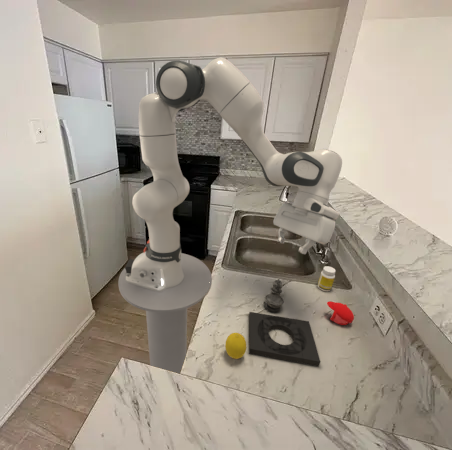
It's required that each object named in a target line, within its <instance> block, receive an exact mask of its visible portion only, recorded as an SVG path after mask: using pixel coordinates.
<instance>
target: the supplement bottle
mask: <svg viewBox="0 0 452 450" xmlns="http://www.w3.org/2000/svg"><path fill="white" fill-rule="evenodd" d="M336 272H337V271H336V269H335V267H332V266H327V265H326V266H325V265H324V266H323V269H322V270H321V272H320V275H319V278H318V281H317V283H316V285H317V288H318V289H319V290H321V291H323V292H330V291H332V287H333V285H334V282H335V278H336V275H335V274H336Z"/></svg>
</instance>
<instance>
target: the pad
mask: <svg viewBox="0 0 452 450" xmlns="http://www.w3.org/2000/svg"><path fill="white" fill-rule="evenodd" d="M310 323H311V322H310V320H303V319H296V318H291V317H285V316H279V315H273V314H265V313H259V312H253V311H249V314H248V350H249V351H248V353H249V354H250V355H255V356H260V357H266V358H270V359H277V360H280V361H281V360H282V361H286V362H291V363H297V364H303V365H308V366H314V367H319V366H320V363H321V358H320V356H319V352H318V348H317V344H316V341H315V338H314V335H313V331H312V327H311V324H310ZM272 330H280V331H283V332H285V333H287V334H288V335H289V336H290V337H291V339H292V342H291V343H290V344H282V343H279V342H277V341H275V340H274V339H273V338H272V337H271V335H270V331H272Z"/></svg>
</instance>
